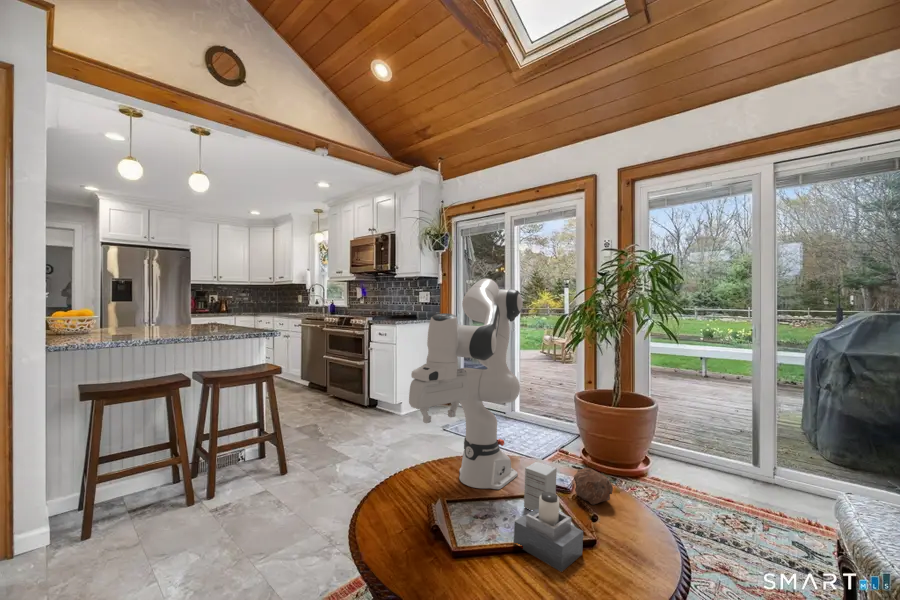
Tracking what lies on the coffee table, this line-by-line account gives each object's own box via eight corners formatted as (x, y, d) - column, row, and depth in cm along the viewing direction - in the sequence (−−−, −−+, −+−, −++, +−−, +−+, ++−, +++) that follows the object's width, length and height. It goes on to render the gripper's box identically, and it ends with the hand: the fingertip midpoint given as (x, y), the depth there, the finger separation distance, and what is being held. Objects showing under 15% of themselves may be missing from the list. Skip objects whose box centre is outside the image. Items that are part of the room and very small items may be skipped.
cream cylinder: (545, 518, 106) (546, 489, 106) (562, 526, 102) (563, 496, 102) (534, 525, 102) (535, 494, 102) (551, 533, 98) (552, 502, 98)
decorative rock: (618, 511, 123) (619, 478, 123) (582, 510, 122) (584, 478, 122) (599, 490, 136) (600, 461, 136) (567, 490, 135) (568, 461, 135)
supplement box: (534, 499, 128) (535, 460, 128) (555, 508, 123) (557, 467, 123) (522, 508, 122) (524, 467, 122) (545, 517, 117) (546, 474, 117)
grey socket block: (541, 526, 112) (542, 496, 113) (587, 549, 102) (589, 517, 102) (513, 544, 104) (514, 511, 104) (561, 572, 93) (562, 536, 93)
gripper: (459, 366, 122) (457, 411, 122) (406, 372, 108) (404, 423, 108) (474, 369, 117) (472, 415, 117) (421, 376, 103) (419, 429, 103)
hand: (439, 419), depth 112 cm, fingers open, 8 cm apart
